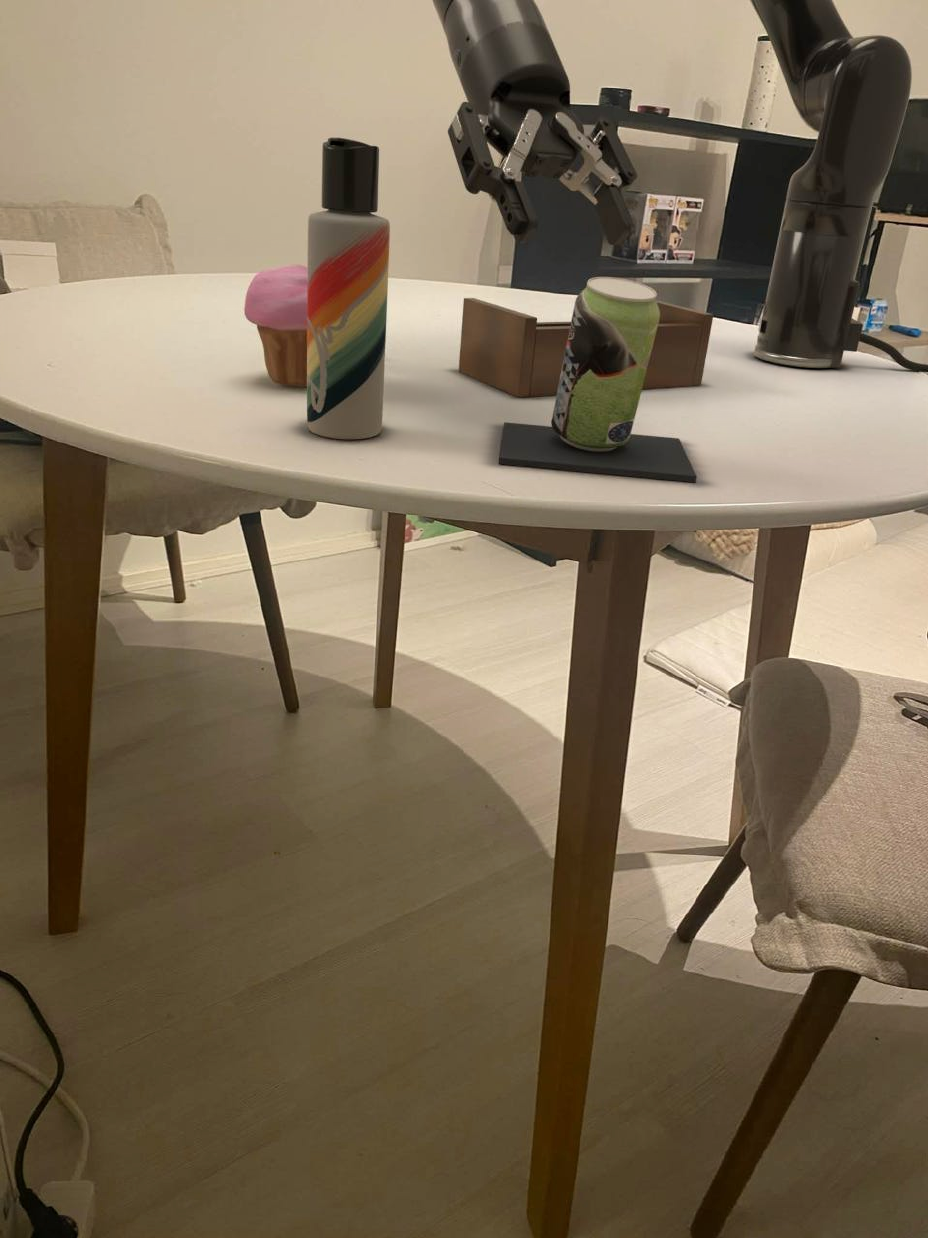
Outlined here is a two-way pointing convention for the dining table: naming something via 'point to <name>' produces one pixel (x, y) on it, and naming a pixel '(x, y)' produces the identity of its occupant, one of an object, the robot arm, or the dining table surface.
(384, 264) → the lotion bottle
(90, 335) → the dining table surface
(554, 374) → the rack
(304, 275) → the cupcake
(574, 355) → the beverage can
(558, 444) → the mat
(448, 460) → the dining table surface
